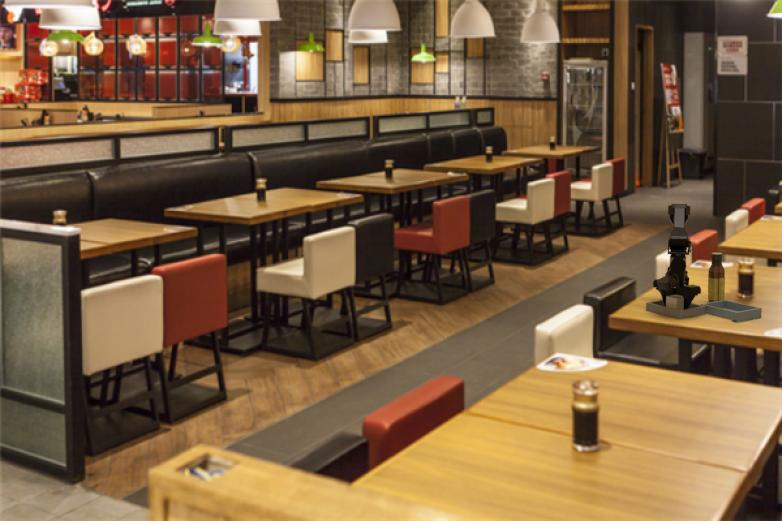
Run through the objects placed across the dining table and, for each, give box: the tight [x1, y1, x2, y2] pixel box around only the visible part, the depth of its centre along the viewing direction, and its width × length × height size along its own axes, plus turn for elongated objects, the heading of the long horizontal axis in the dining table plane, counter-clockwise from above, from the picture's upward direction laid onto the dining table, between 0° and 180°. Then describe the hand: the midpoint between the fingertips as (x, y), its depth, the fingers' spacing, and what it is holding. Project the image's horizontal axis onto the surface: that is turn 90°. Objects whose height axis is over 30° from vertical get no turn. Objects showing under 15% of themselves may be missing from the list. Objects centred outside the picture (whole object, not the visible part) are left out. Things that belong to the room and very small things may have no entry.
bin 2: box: [700, 299, 763, 323], centre depth 374 cm, size 17×14×4 cm
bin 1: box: [645, 299, 706, 320], centre depth 377 cm, size 17×14×4 cm
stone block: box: [666, 295, 684, 310], centre depth 377 cm, size 5×5×6 cm
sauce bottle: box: [707, 252, 726, 303], centre depth 393 cm, size 7×6×20 cm
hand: (675, 309), depth 377 cm, fingers open, 9 cm apart
